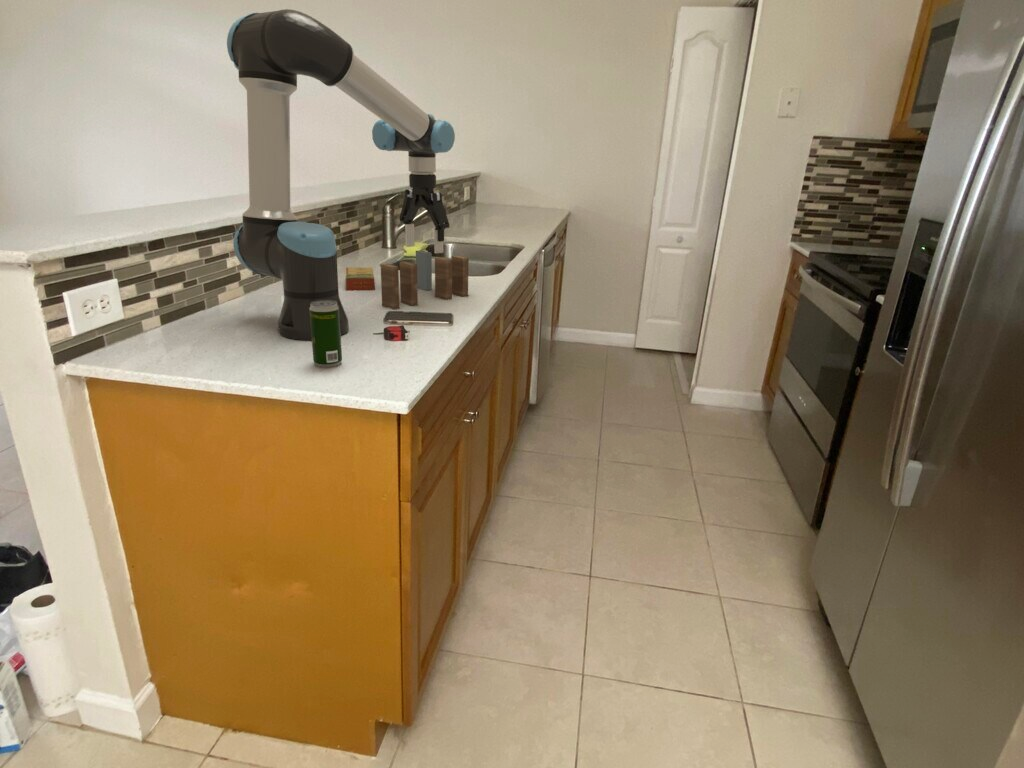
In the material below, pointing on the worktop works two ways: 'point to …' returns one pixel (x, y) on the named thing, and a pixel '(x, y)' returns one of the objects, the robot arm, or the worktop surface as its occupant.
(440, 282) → the domino
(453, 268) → the domino
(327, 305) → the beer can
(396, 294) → the domino
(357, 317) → the worktop surface
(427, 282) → the domino
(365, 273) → the carton
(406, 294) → the domino
